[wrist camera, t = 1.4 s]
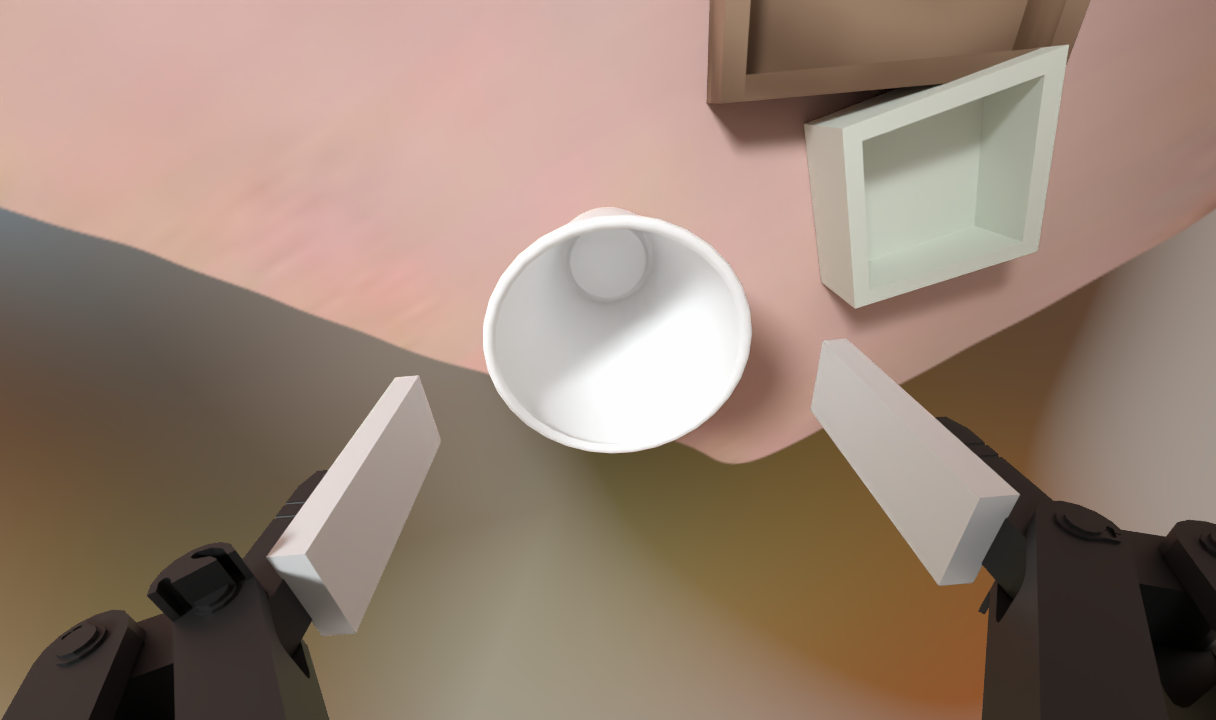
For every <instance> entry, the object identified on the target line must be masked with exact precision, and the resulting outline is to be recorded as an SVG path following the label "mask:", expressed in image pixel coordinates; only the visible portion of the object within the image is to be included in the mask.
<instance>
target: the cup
mask: <svg viewBox="0 0 1216 720" xmlns="http://www.w3.org/2000/svg"><path fill="white" fill-rule="evenodd" d="M751 338H752V325H751V314H750V307H749V304H748V301H747V298H746V295H745V292H744V289H743V286H742V284H741V282H740V281H739V279H738V278H737V276H736V274H735V273H734V271H733V269H732V268H731V266H730V265H729V263H728V262H727V261H726V260H725V259H724V258H723V257H722V256H721V255H720V254H719V253H718V252H717V251H716V250H715V249H714V248H713V247H712V246H711V245H710V244H709V243H707V242H706V241H704V240H703V239H701V238H700V237H698V236H696V235H695V234H693V233H692V232H690V231H689V230H687V229H685V228H682V227H680V226H677V225H674V224H672V223H669V222H666V221H664V220H661V219H658V218H651V217H644V216H639V215H637V214H635V213H633V212H630V211H628V210H625V209H622V208H616V207H599V208H596V209H592V210H588V211H586V212H584V213H582V214H580V215H579V216H577V217H576V218H575V219H573V220H572V221H571V222H570V223H568V224H566V225H564V226H562V227H560V228H558V229H556V230H554V231H552V232H550V233H548V234H546V235H544V236H542V237H541V238H539V239H538V240H537V241H535V242H534V243H533V244H532V245H530V246H529V247H528V248H527V249H525V250H524V251H523V252H522V253H520V254H519V255H518V256H517V257H516V259H515V260H514V261H513V262H512V263H511V265H510V266H509V267H508V268H507V270H506V271H505V272H504V273H503V274H502V276H501V277H500V279H499V281H498V283H497V285H496V287H495V289H494V291H493V293H492V295H491V297H490V299H489V303H488V307H487V311H486V315H485V320H484V324H483V350H484V355H485V359H486V364H487V369H488V372H489V374H490V376H491V378H492V381H493V383H494V385H495V387H496V389H497V392H498V393H499V394H500V396H501V397H502V399H503V400H504V401H505V403H506V404H507V405H508V407H509V408H510V409H511V410H512V411H513V412H514V413H515V414H516V415H517V416H518V417H519V418H520V419H521V420H522V421H523V422H525V423H526V424H527V425H528V426H529V427H531V428H533V429H534V430H536V431H537V432H539V433H540V434H542V435H544V436H545V437H547V438H549V439H552V440H554V441H556V442H559V443H561V444H564V445H566V446H570V447H574V448H578V449H582V450H586V451H592V452H602V453H623V452H636V451H640V450H645V449H650V448H655V447H658V446H661V445H663V444H666V443H669V442H671V441H674V440H677V439H679V438H680V437H682V436H684V435H686V434H687V433H689V432H691V431H693V430H694V429H696V428H698V427H699V426H700V425H701V424H703V423H704V422H705V421H706V420H708V419H709V418H710V417H711V416H713V415H714V414H715V413H716V412H717V411H718V410H719V408H720V407H721V406H722V405H723V404H724V403H725V402H726V401H727V399H728V398H729V397H730V396H731V394H732V392H733V391H734V389H735V387H736V386H737V384H738V382H739V381H740V379H741V377H742V374H743V371H744V369H745V366H746V363H747V360H748V357H749V353H750V345H751Z"/></svg>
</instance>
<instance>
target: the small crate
mask: <svg viewBox="0 0 1216 720" xmlns="http://www.w3.org/2000/svg"><path fill="white" fill-rule="evenodd" d="M1068 48H1069V45H1060V46H1051V47H1042V48H1040V49H1037V50H1035V51H1032V52H1029V53H1027V54H1024V55H1021V56H1019V57H1016V58H1013V59H1011V60H1008V61H1005V62H1003V63H1000V64H997V65H994V66H992V67H989V68H986V69H984V70H981V71H978V72H976V73H973V74H970V75H968V76H965V77H962V78H960V79H957V80H954V81H952V82H949V83H945V84H934V85H922V86H911V87H901V88H898V89H895V90H893V91H890V92H887V93H885V94H882V95H880V96H877V97H874V98H872V99H869V100H866V101H864V102H861V103H858V104H856V105H853V106H850V107H848V108H845V109H842V110H840V111H837V112H834V113H832V114H829V115H826V116H824V117H821V118H819V119H816V120H813V121H811V122H808V123H805V124H804V131H805V141H806V150H807V159H808V168H809V177H810V186H811V195H812V204H813V213H814V222H815V231H816V240H817V249H818V258H819V267H820V276H821V282H822V283H823V284H824V285H826V286H827V287H828V288H829V289H831V290H832V291H833V292H834V293H836V294H837V295H838V296H840V297H841V298H842V299H843V300H845V301H846V302H847V303H848V304H850V305H851V306H852V307H853V308H855V309H856V308H859V307H862V306H865V305H869V304H872V303H875V302H878V301H881V300H885V299H888V298H891V297H894V296H897V295H900V294H904V293H907V292H910V291H913V290H916V289H920V288H923V287H926V286H929V285H932V284H935V283H939V282H942V281H945V280H948V279H951V278H954V277H958V276H961V275H964V274H967V273H970V272H974V271H977V270H980V269H983V268H986V267H989V266H993V265H996V264H999V263H1002V262H1005V261H1009V260H1012V259H1015V258H1018V257H1021V256H1024V255H1028V254H1031V253H1034V252H1037V251H1038V247H1039V240H1040V234H1041V227H1042V220H1043V214H1044V207H1045V201H1046V194H1047V187H1048V181H1049V174H1050V167H1051V161H1052V154H1053V148H1054V141H1055V134H1056V128H1057V121H1058V114H1059V108H1060V101H1061V95H1062V88H1063V81H1064V75H1065V68H1066V62H1067V55H1068ZM1033 49H1035V48H1033Z"/></svg>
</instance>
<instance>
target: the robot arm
mask: <svg viewBox="0 0 1216 720" xmlns="http://www.w3.org/2000/svg"><path fill="white" fill-rule="evenodd" d="M810 410H811V411H812V413H813V414H814V415H815V417H816V418H817V420H818V421H819V422H820V424H821V425H822V426H823V428H824V429H825V431H826V432H827V433H828V435H829V436H830V437H831V439H832V440H833V442H834V443H835V444H836V445H837V447H838V448H839V450H840V451H841V453H842V454H843V455H844V457H845V458H846V459H847V461H848V462H849V463H850V465H851V466H852V468H853V469H854V470H855V472H856V473H857V474H858V476H859V477H860V478H861V480H862V481H863V483H864V484H865V485H866V487H867V488H868V490H869V491H870V492H871V494H872V495H873V496H874V497H875V499H876V500H877V502H878V503H879V505H880V506H881V507H882V509H883V510H884V511H885V513H886V514H887V515H888V517H889V518H890V520H891V521H892V522H893V524H894V525H895V527H896V528H897V529H898V531H899V532H900V533H901V535H902V536H903V537H904V539H905V540H906V542H907V543H908V544H909V546H910V547H911V548H912V550H913V551H914V553H915V554H916V555H917V557H918V558H919V559H920V561H921V562H922V564H923V565H924V566H925V568H926V569H927V570H928V572H929V573H930V574H931V576H932V577H933V578H934V580H935V581H936V582H937V584H938V585H939V586H941V585H953V584H965V583H973V582H974V580H975V578H976V576H977V574H978V573H979V571H980V569H981V567H982V565H983V566H984V567H985V568H986V569H987V571H988V572H989V573H990V574H991V575H992V576H993V578H994V579H995V582H994V584H993V585H992V587H991V589H990V591H989V592H988V594H987V596H986V598H985V599H984V601H983V603H982V605H981V607H980V609H979V612H981V613H983V614H985V613H986V611H987V609H988V608H989V619H988V633H987V648H986V664H985V679H984V694H983V710H982V720H1216V524H1213V523H1209V522H1205V521H1195V520H1186V521H1181V522H1178V523H1177V524H1176V525H1175V526H1174V527H1173V528H1172V530H1171V531H1170V532H1169V534H1168V535H1167V536H1166V537H1164V536H1158V535H1151V534H1145V533H1138V532H1132V531H1126V530H1121V529H1119V528H1118V527H1117V526H1116V525H1115V524H1114V523H1113V522H1112V521H1110V520H1108V519H1107V518H1105V517H1103V516H1102V515H1100V514H1098V513H1097V512H1095V511H1092V510H1090V509H1087V508H1085V507H1082V506H1080V505H1077V504H1073V503H1068V502H1064V501H1053V500H1052V499H1051V498H1049V497H1048V496H1047V495H1046V494H1045V493H1043V492H1042V491H1041V490H1040V489H1039V488H1038V487H1036V486H1035V485H1034V484H1033V483H1032V482H1031V481H1029V480H1028V479H1027V478H1026V477H1025V476H1023V475H1022V474H1021V473H1020V472H1019V471H1018V470H1016V469H1015V468H1014V467H1013V466H1012V465H1010V464H1009V463H1008V462H1007V461H1006V460H1005V459H1003V458H1002V457H999V456H998V453H996V452H995V451H994V450H993V449H992V448H990V447H989V446H988V445H985V444H984V442H983V441H982V440H981V439H980V438H979V437H978V436H976V435H975V434H974V433H973V432H972V431H970V430H969V429H968V428H966V427H964V426H962V425H961V424H959V423H957V422H955V421H953V420H951V419H949V418H947V417H936V418H934V417H933V416H932V415H931V414H930V413H929V412H928V411H926V409H924V408H923V407H922V406H921V405H920V404H919V403H918V402H917V401H916V400H914V399H913V398H912V397H911V396H910V395H909V394H908V393H907V392H906V391H904V390H903V389H902V388H901V387H900V386H899V385H898V384H897V383H896V382H894V381H893V380H892V379H891V378H890V377H889V376H888V375H887V374H886V373H884V372H883V371H882V370H881V369H880V368H879V367H878V366H877V365H876V364H874V363H873V362H872V361H871V360H870V359H869V358H868V357H867V356H866V355H864V354H863V353H862V352H861V351H860V350H859V349H858V348H857V347H856V346H854V345H853V344H852V343H851V342H850V341H849V340H848V339H836V340H825V341H823V343H822V349H821V354H820V360H819V365H818V371H817V376H816V382H815V387H814V393H813V398H812V404H811V409H810ZM440 443H441V439H440V436H439V433H438V430H437V427H436V425H435V422H434V419H433V416H432V413H431V410H430V407H429V404H428V401H427V398H426V395H425V392H424V390H423V386H422V383H421V381H420V378H419V376H406V377H396V378H395V379H394V380H393V382H392V383H391V384H390V386H389V387H388V388H387V390H386V391H385V393H384V394H383V395H382V397H381V398H380V399H379V401H378V402H377V404H376V405H375V406H374V408H373V409H372V411H371V412H370V414H369V415H368V416H367V418H366V419H365V420H364V422H363V423H362V425H361V426H360V427H359V429H358V430H357V431H356V433H355V434H354V436H353V437H352V438H351V440H350V441H349V443H348V444H347V446H346V447H345V448H344V449H343V451H342V452H341V454H340V455H339V456H338V458H337V459H336V461H335V462H334V463H333V465H332V466H331V468H330V469H329V470H323V471H317V472H316V473H314V474H313V475H312V476H311V477H309V478H308V479H307V480H306V481H304V482H303V483H302V484H301V485H300V486H299V487H298V488H297V489H296V490H295V492H294V493H293V495H292V496H291V497H290V498H289V500H288V501H287V504H286V505H285V506H283V507H282V509H281V510H280V511H279V513H278V514H277V515H276V519H273V520H272V522H271V523H270V524H269V526H268V527H267V528H266V530H265V531H264V532H263V533H262V535H261V536H260V538H259V539H258V540H257V541H256V543H255V544H254V545H253V546H252V548H251V549H250V551H249V552H248V553H247V554H246V556H245V557H244V558H243V559H242V558H241V557H240V556H239V554H237V552H236V550H235V549H234V548H233V547H232V545H231V544H228V543H222V542H219V543H213V544H208V545H205V546H202V547H200V548H197V549H194V550H192V551H190V552H188V553H187V554H185V555H184V556H182V557H180V558H178V559H177V560H175V561H174V562H173V563H172V564H170V565H169V566H168V567H167V568H166V569H164V570H163V571H162V572H161V573H160V574H159V575H158V577H157V578H156V579H155V580H154V581H153V583H152V584H151V586H150V589H149V591H148V594H147V596H148V597H149V598H150V599H151V600H152V601H153V602H154V603H155V605H156V606H157V607H159V608H160V610H161V611H162V612H163V614H160V615H157V616H154V617H151V618H149V619H145V620H143V621H140V622H135V621H134V620H133V619H132V618H131V617H130V616H129V615H128V614H127V613H126V612H125V611H123V610H111V611H107V612H104V613H100V614H97V615H95V616H93V617H90V618H89V619H86V620H85V621H82V622H80V623H78V624H77V625H76V626H74V627H72V628H71V629H70V630H68V631H66V632H65V633H63V634H62V635H61V636H59V637H58V638H57V639H56V640H55V641H54V642H53V643H51V644H50V645H49V646H48V647H47V648H46V649H45V650H44V651H43V652H42V654H41V655H40V656H39V657H38V659H37V660H36V661H35V662H34V664H33V665H32V667H31V669H30V671H29V672H28V674H27V676H26V677H25V679H24V681H23V683H22V685H21V686H20V688H19V690H18V692H17V694H16V695H15V697H14V699H13V700H12V703H11V704H10V706H9V707H8V709H7V711H6V713H5V715H4V716H3V718H2V720H329V717H328V714H327V711H326V707H325V703H324V700H323V697H322V693H321V690H320V686H319V683H318V680H317V676H316V673H315V669H314V666H313V662H312V659H311V656H310V652H309V649H308V646H307V645H306V643H305V642H304V640H303V639H302V638H303V636H304V634H305V632H306V630H307V629H308V627H309V625H310V623H311V621H312V622H313V624H314V625H315V627H316V628H317V629H318V631H319V632H320V634H321V635H322V636H327V635H340V634H352V633H356V632H357V629H358V627H359V625H360V623H361V620H362V618H363V616H364V614H365V611H366V609H367V607H368V604H369V602H370V600H371V598H372V595H373V593H374V591H375V589H376V587H377V584H378V582H379V580H380V578H381V575H382V573H383V571H384V568H385V566H386V564H387V562H388V560H389V557H390V555H391V553H392V551H393V548H394V546H395V544H396V542H397V539H398V537H399V535H400V533H401V530H402V528H403V526H404V524H405V521H406V519H407V517H408V515H409V512H410V510H411V508H412V506H413V503H414V501H415V499H416V497H417V494H418V492H419V490H420V488H421V485H422V483H423V481H424V479H425V476H426V474H427V472H428V470H429V467H430V465H431V463H432V460H433V458H434V456H435V454H436V452H437V449H438V447H439V445H440Z"/></svg>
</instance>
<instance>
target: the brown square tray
mask: <svg viewBox="0 0 1216 720" xmlns="http://www.w3.org/2000/svg"><path fill="white" fill-rule="evenodd" d="M1089 3H1090V0H710V12H709V45H708V78H707V103H717V104H723V103H734V102H745V101H756V100H767V99H779V98H790V97H801V96H812V95H823V94H834V93H845V92H856V91H867V90H878V89H889V88H900V87H911V86H922V85H934V84H945V83H949V82H952V81H954V80H957V79H960V78H962V77H965V76H968V75H970V74H973V73H976V72H978V71H981V70H984V69H986V68H989V67H992V66H994V65H997V64H1000V63H1003V62H1005V61H1008V60H1011V59H1013V58H1016V57H1019V56H1021V55H1024V54H1027V53H1029V52H1032V51H1035V50H1037V49H1040V48H1042V47H1051V46H1060V45H1069V48H1068V55H1067V62H1068V59H1069V56H1070V54H1071V51H1072V48H1073V46H1074V43H1075V40H1076V38H1077V35H1078V32H1079V30H1080V27H1081V24H1082V22H1083V19H1084V16H1085V14H1086V11H1087V8H1088V6H1089ZM1033 48H1035V49H1033ZM1067 62H1066V65H1067Z"/></svg>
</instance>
